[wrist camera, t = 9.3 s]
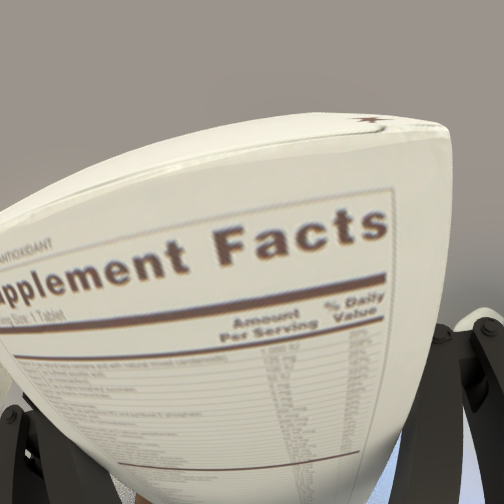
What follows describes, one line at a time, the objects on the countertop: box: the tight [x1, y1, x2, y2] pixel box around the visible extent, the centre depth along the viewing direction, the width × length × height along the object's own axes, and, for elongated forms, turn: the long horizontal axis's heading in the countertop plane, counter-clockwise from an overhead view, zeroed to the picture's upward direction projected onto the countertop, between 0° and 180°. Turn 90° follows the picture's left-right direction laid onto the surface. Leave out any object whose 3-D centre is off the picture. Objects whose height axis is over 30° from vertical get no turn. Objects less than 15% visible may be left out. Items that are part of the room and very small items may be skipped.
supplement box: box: [0, 112, 452, 504], centre depth 11 cm, size 10×9×17 cm
